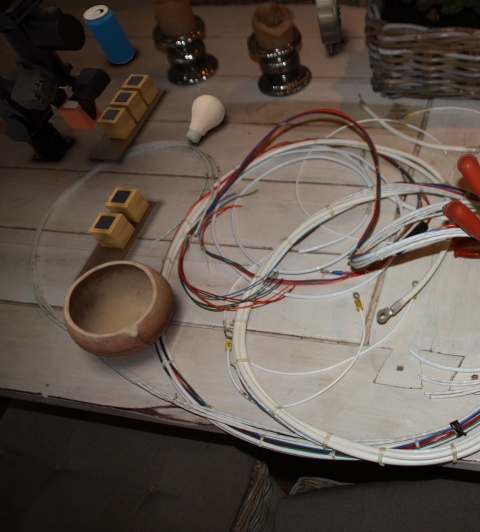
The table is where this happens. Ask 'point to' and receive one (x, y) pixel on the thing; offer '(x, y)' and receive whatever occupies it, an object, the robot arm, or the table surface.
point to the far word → (126, 117)
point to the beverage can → (109, 34)
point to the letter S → (77, 115)
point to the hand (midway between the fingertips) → (84, 117)
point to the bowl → (118, 308)
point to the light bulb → (204, 116)
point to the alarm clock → (329, 21)
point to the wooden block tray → (118, 226)
